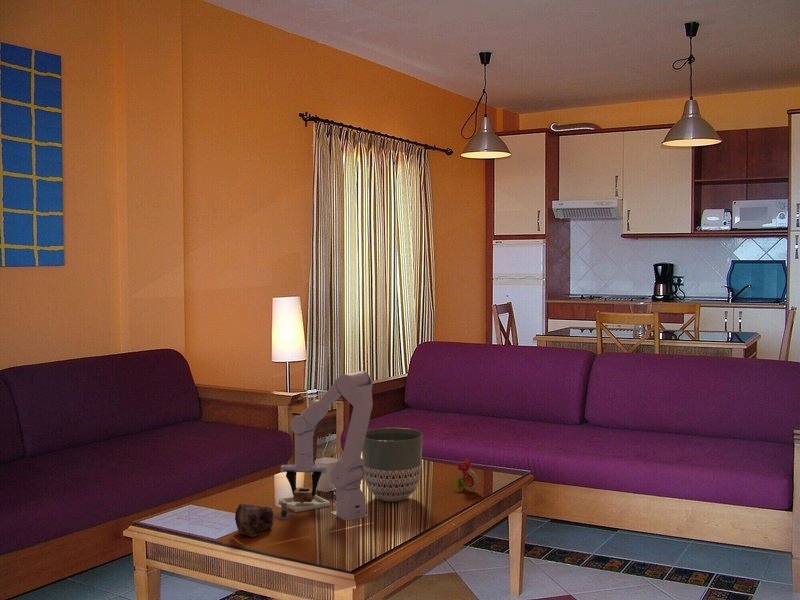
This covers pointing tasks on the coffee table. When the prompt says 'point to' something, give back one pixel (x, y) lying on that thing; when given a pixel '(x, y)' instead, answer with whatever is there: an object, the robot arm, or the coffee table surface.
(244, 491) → the coffee table surface
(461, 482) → the bird rattle
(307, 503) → the tray
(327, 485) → the white cup
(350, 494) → the robot arm
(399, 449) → the planter
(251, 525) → the rock
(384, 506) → the coffee table surface
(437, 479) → the coffee table surface
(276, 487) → the coffee table surface
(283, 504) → the grey knobbed lid
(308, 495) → the brown square frame
